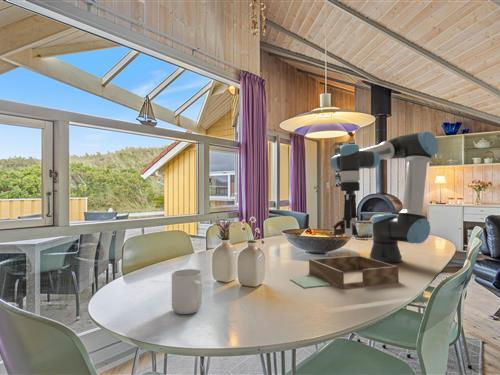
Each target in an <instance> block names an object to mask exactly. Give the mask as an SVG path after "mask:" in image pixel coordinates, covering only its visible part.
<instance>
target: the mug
mask: <svg viewBox="0 0 500 375" xmlns="http://www.w3.org/2000/svg"><path fill="white" fill-rule="evenodd" d="M202 294H203V282H202V271H201V270H199V269H195V268H194V269H193V268H185V269H177V270H175V271H173V272H171V309H172V310H173V312H175V313H177V314H180V315H188V314H193V313H195V312H198V311H199V309H200V308H202V304H203V302H202V301H203V300H202V299H203V298H202Z"/></svg>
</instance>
